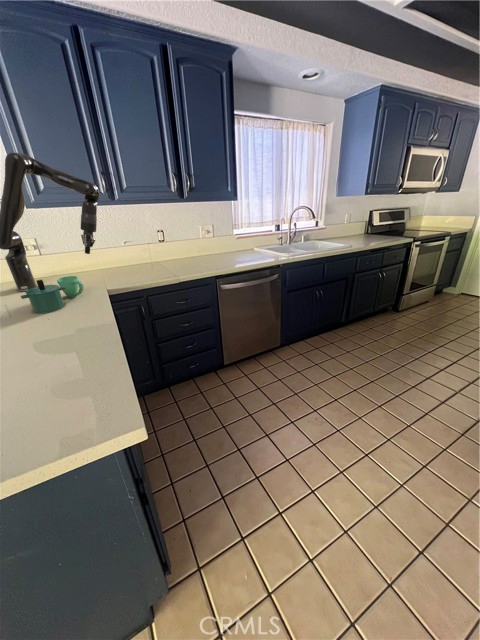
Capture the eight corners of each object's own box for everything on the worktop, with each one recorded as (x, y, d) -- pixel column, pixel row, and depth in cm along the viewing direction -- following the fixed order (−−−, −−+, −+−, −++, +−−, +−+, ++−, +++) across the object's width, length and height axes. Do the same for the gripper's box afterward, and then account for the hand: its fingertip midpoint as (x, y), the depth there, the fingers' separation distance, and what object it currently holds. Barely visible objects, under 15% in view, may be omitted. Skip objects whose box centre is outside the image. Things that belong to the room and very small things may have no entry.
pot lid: (23, 291, 128) (19, 280, 126) (55, 284, 137) (51, 274, 135) (29, 298, 120) (25, 286, 118) (63, 290, 129) (59, 279, 126)
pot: (24, 310, 131) (17, 291, 126) (65, 299, 142) (60, 283, 138) (30, 317, 123) (23, 298, 119) (73, 306, 134) (67, 288, 130)
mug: (58, 298, 145) (52, 280, 141) (73, 292, 153) (68, 275, 149) (78, 301, 140) (72, 283, 136) (93, 294, 149) (88, 277, 144)
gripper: (76, 218, 145) (75, 250, 150) (86, 222, 138) (85, 255, 143) (90, 221, 151) (89, 251, 156) (101, 225, 143) (99, 256, 149)
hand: (87, 253), depth 150 cm, fingers closed
